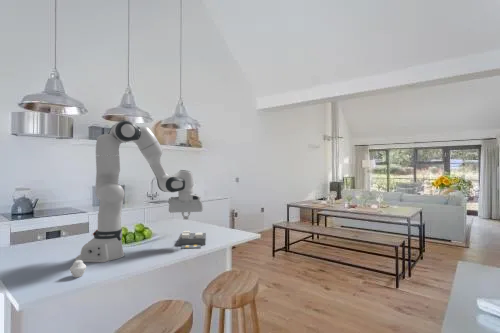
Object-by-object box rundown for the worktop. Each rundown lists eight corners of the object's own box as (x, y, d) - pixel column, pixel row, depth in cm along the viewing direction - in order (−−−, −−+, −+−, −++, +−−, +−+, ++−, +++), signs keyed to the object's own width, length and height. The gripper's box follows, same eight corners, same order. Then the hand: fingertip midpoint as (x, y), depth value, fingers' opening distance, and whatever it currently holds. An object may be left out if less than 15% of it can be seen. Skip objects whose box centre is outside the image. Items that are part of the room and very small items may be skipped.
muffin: (83, 272, 129) (83, 256, 129) (88, 275, 125) (88, 259, 125) (67, 276, 125) (67, 260, 125) (72, 280, 120) (72, 263, 120)
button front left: (181, 240, 174) (181, 235, 174) (182, 238, 178) (182, 233, 178) (188, 239, 174) (188, 234, 174) (189, 238, 178) (189, 233, 178)
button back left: (182, 237, 181) (182, 232, 181) (183, 235, 185) (183, 230, 185) (189, 236, 181) (189, 232, 181) (190, 235, 185) (190, 230, 185)
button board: (178, 245, 172) (178, 239, 172) (180, 239, 186) (180, 233, 186) (205, 245, 174) (205, 238, 174) (205, 239, 188) (205, 232, 188)
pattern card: (181, 248, 166) (181, 247, 166) (182, 246, 171) (182, 244, 171) (200, 248, 167) (200, 246, 167) (200, 245, 172) (200, 244, 172)
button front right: (195, 239, 175) (195, 234, 175) (195, 237, 179) (195, 233, 179) (202, 239, 175) (202, 234, 175) (202, 237, 179) (202, 232, 179)
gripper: (167, 197, 172) (167, 220, 172) (202, 196, 174) (202, 219, 174) (169, 196, 178) (169, 218, 178) (202, 195, 180) (202, 217, 181)
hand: (186, 219), depth 176 cm, fingers closed
